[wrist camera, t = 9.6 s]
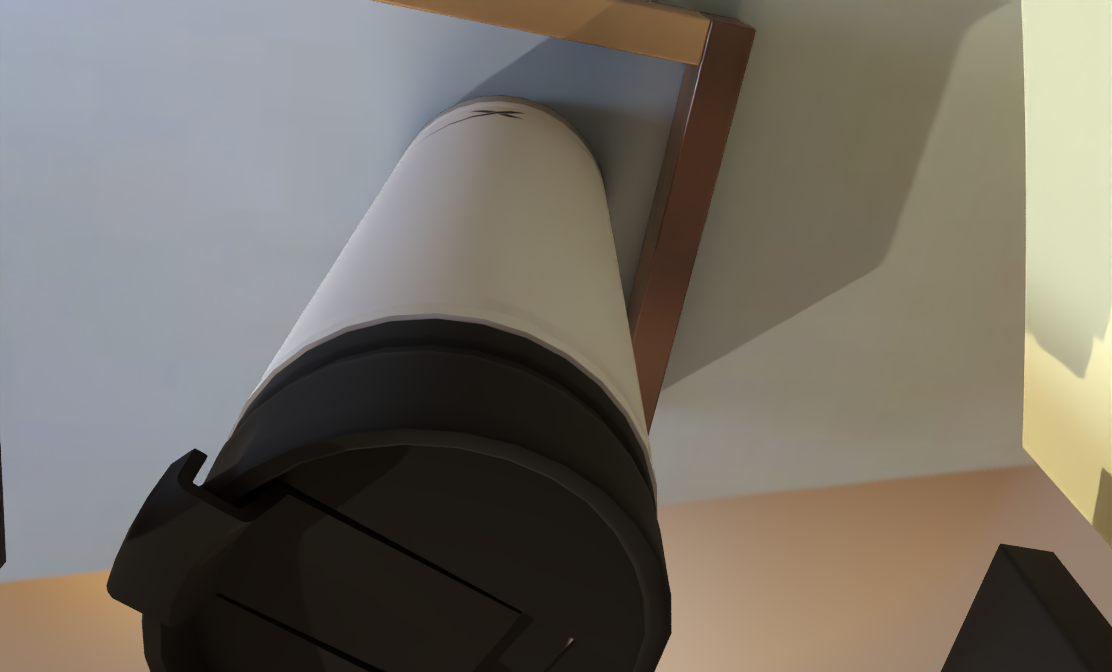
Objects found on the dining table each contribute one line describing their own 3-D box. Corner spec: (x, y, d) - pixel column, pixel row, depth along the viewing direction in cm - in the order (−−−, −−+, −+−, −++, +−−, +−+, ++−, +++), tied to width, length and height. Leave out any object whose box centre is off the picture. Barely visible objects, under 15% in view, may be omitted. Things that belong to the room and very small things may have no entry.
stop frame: (386, -53, 26) (370, -50, 24) (740, 19, 27) (756, 28, 25) (340, 352, 31) (323, 385, 29) (640, 404, 32) (647, 440, 30)
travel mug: (462, 41, 27) (269, 305, 9) (646, 175, 29) (803, 634, 10) (349, 215, 29) (2, 718, 11) (526, 331, 31) (482, 941, 13)
